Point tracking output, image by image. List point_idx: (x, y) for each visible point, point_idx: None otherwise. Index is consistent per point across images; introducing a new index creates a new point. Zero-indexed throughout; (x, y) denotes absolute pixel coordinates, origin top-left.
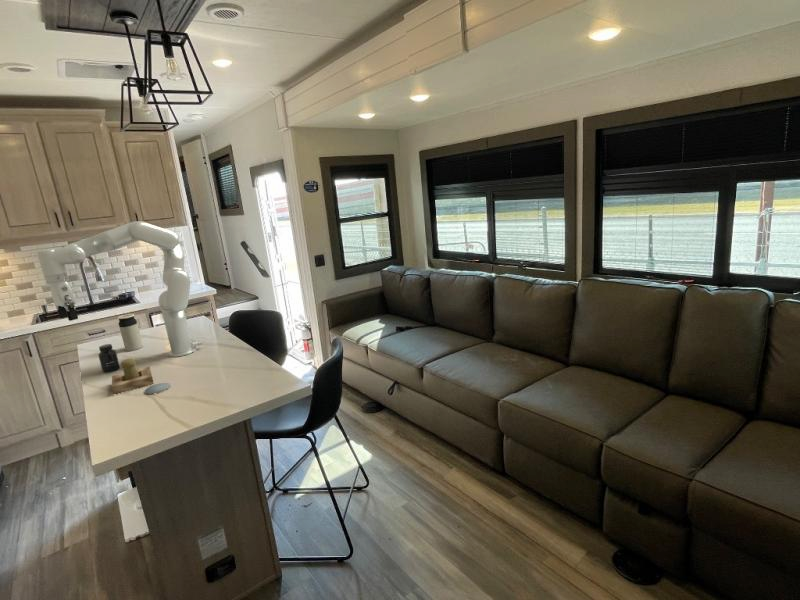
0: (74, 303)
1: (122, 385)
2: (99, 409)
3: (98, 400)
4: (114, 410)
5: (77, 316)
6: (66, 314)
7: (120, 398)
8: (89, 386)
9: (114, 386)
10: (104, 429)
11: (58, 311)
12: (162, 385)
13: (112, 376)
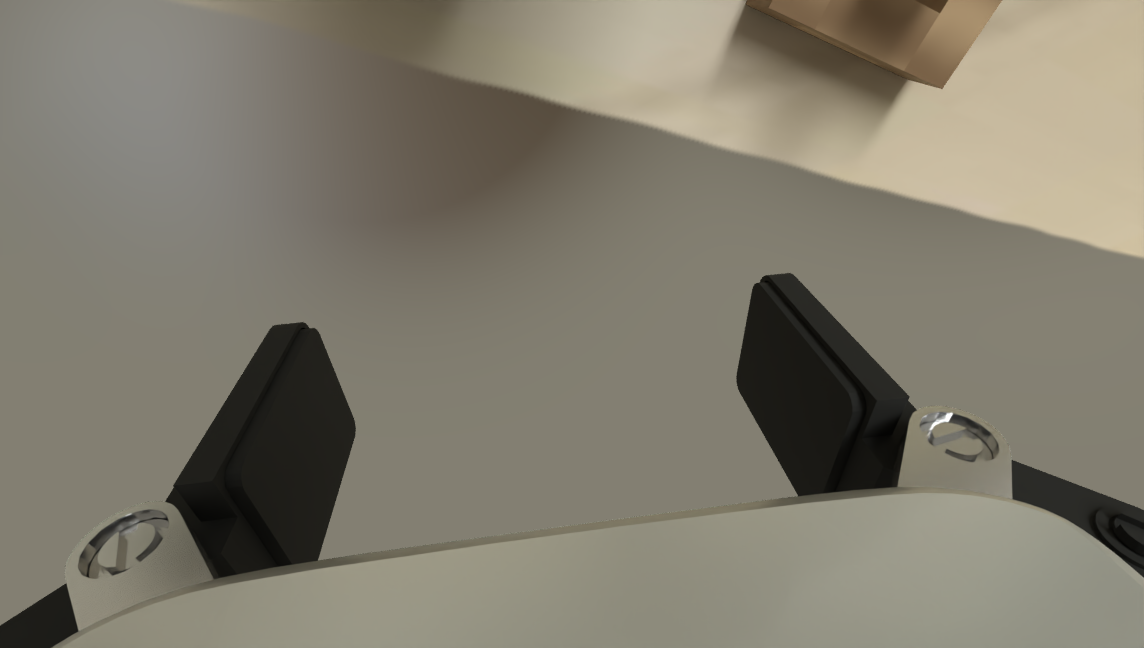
0: (888, 510)
1: (975, 31)
2: (969, 182)
3: (874, 152)
4: (1057, 146)
5: (807, 293)
6: (309, 382)
7: (983, 75)
8: (625, 117)
9: (950, 74)
10: (1136, 224)
11: (307, 552)
12: None
13: (781, 10)
